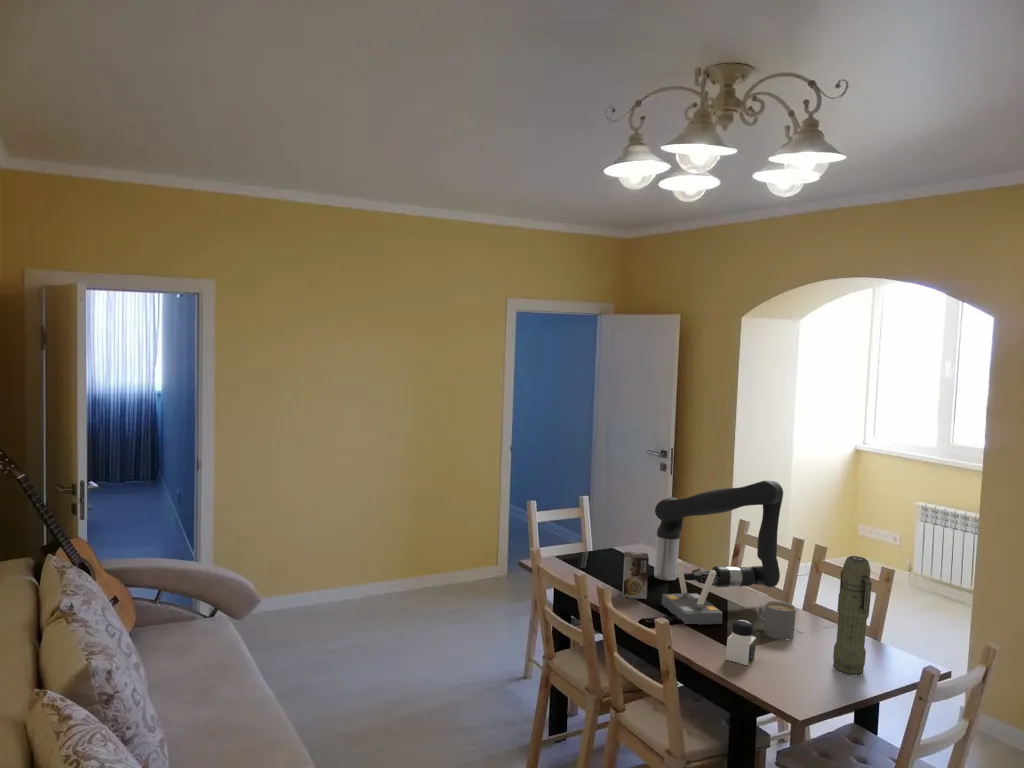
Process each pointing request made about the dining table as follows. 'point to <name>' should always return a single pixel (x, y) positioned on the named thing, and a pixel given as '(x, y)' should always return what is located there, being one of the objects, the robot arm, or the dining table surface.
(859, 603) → the thermos
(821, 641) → the dining table surface
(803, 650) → the dining table surface
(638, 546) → the dining table surface
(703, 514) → the robot arm
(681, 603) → the switch unit
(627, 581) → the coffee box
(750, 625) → the medicine bottle
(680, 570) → the switch
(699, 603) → the switch
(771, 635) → the coffee mug
